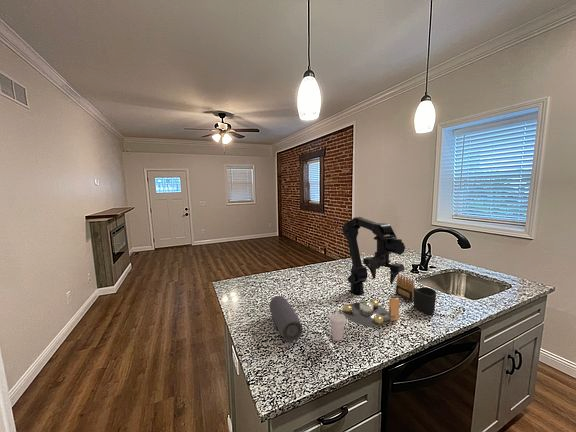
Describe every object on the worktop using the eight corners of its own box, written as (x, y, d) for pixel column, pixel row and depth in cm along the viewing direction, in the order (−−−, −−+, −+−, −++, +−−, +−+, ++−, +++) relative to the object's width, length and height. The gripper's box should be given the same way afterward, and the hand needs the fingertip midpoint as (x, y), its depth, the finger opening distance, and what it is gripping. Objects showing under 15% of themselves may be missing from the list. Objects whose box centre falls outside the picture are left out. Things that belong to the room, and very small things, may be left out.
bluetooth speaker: (304, 342, 95) (304, 317, 94) (281, 347, 93) (280, 322, 91) (287, 313, 117) (287, 293, 116) (268, 316, 114) (268, 296, 113)
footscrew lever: (376, 325, 103) (377, 303, 102) (371, 320, 107) (372, 299, 106) (400, 321, 106) (401, 300, 104) (394, 317, 110) (395, 296, 108)
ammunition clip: (414, 301, 127) (415, 278, 126) (411, 301, 126) (413, 279, 125) (397, 293, 137) (398, 272, 135) (395, 293, 136) (396, 272, 135)
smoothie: (327, 335, 99) (327, 302, 97) (342, 334, 99) (343, 302, 98) (331, 346, 93) (331, 311, 91) (348, 345, 93) (348, 310, 91)
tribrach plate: (333, 313, 116) (333, 300, 115) (362, 300, 128) (362, 289, 127) (371, 334, 99) (371, 320, 98) (400, 318, 111) (401, 305, 110)
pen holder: (434, 317, 111) (436, 296, 110) (411, 312, 116) (412, 292, 115) (435, 308, 119) (436, 289, 118) (413, 304, 124) (414, 285, 123)
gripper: (356, 249, 120) (356, 280, 122) (392, 256, 105) (391, 291, 107) (369, 245, 127) (369, 275, 129) (405, 252, 112) (404, 285, 114)
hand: (382, 281), depth 119 cm, fingers open, 9 cm apart
